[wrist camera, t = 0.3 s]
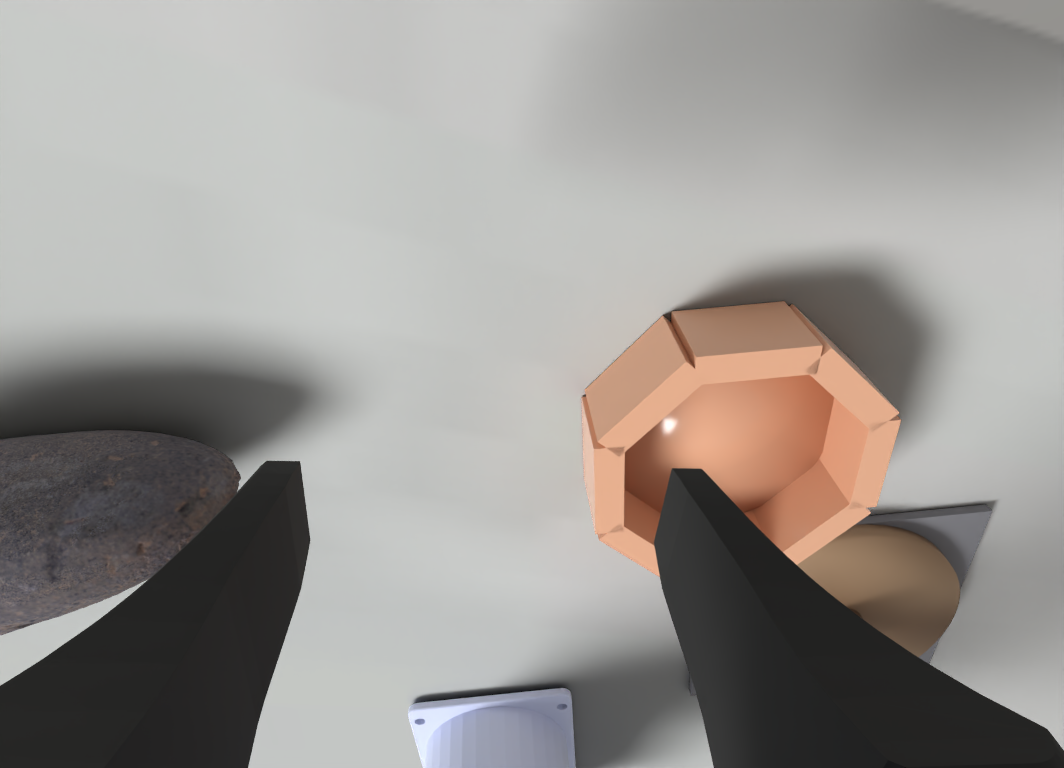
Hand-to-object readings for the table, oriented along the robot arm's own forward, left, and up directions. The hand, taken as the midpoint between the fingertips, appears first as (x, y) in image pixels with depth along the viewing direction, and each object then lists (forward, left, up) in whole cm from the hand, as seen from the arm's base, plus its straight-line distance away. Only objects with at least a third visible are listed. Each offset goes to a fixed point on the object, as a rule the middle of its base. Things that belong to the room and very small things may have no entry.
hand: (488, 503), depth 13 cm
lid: (-17, -14, -10) cm, 24 cm away
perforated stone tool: (-5, +16, -10) cm, 20 cm away
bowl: (-6, -8, -10) cm, 14 cm away
